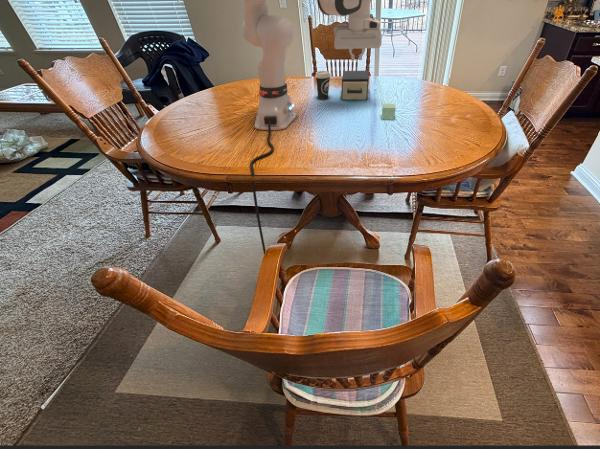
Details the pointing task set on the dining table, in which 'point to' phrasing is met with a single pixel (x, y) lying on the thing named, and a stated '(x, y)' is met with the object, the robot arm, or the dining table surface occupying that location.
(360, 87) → the drawer
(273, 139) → the dining table surface
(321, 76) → the coffee cup
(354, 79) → the cabinet
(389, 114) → the block
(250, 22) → the robot arm
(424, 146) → the dining table surface
